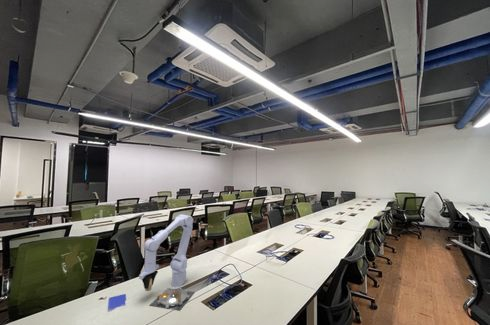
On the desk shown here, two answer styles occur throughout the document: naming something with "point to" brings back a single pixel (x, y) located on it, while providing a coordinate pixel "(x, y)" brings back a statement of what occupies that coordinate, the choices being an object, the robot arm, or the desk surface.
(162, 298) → the tabbed metal disc
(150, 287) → the roller
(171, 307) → the base plate
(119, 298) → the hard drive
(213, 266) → the desk surface
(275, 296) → the desk surface
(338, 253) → the desk surface
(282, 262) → the desk surface
